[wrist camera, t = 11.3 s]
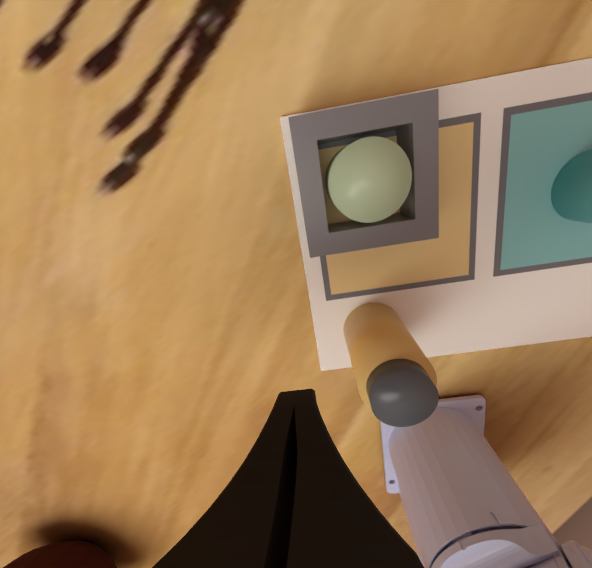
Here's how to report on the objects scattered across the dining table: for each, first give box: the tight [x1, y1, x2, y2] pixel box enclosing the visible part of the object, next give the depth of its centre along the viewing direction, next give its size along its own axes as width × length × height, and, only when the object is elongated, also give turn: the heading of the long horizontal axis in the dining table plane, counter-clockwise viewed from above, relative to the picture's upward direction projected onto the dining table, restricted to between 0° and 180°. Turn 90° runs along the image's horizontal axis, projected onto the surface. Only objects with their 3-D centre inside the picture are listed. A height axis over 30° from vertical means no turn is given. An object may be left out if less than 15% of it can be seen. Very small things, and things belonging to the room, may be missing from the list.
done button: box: [325, 136, 412, 223], centre depth 16 cm, size 4×4×3 cm
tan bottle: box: [343, 302, 439, 427], centre depth 18 cm, size 4×4×7 cm
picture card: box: [280, 58, 592, 371], centre depth 19 cm, size 17×24×1 cm
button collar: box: [288, 89, 439, 258], centre depth 17 cm, size 7×7×3 cm
